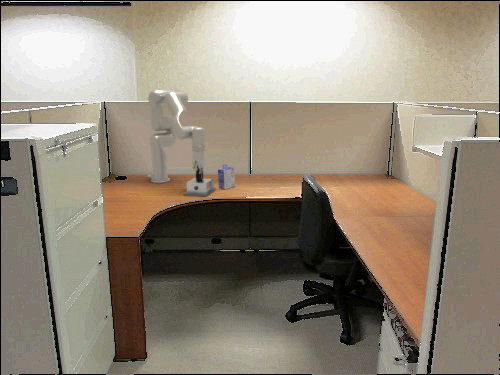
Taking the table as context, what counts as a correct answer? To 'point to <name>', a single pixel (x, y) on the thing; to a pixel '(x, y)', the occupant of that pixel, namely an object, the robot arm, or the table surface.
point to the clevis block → (199, 188)
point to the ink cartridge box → (226, 177)
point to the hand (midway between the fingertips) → (199, 179)
